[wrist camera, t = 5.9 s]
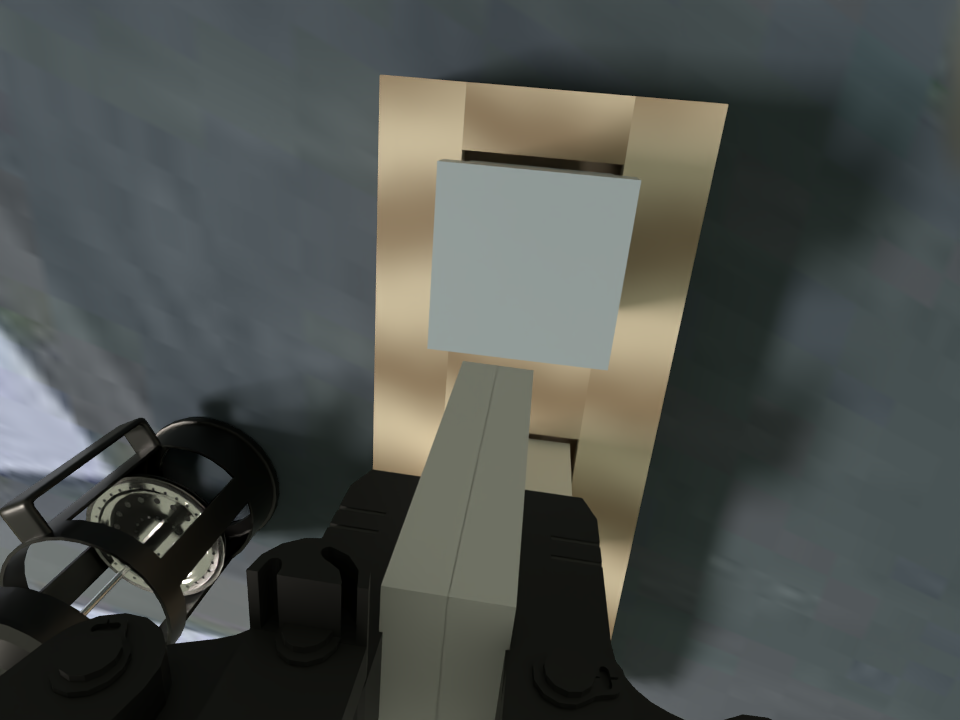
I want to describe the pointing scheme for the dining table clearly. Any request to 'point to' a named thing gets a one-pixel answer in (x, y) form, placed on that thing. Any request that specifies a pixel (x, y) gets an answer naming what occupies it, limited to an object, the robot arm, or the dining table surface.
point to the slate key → (529, 261)
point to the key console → (645, 293)
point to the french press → (136, 530)
